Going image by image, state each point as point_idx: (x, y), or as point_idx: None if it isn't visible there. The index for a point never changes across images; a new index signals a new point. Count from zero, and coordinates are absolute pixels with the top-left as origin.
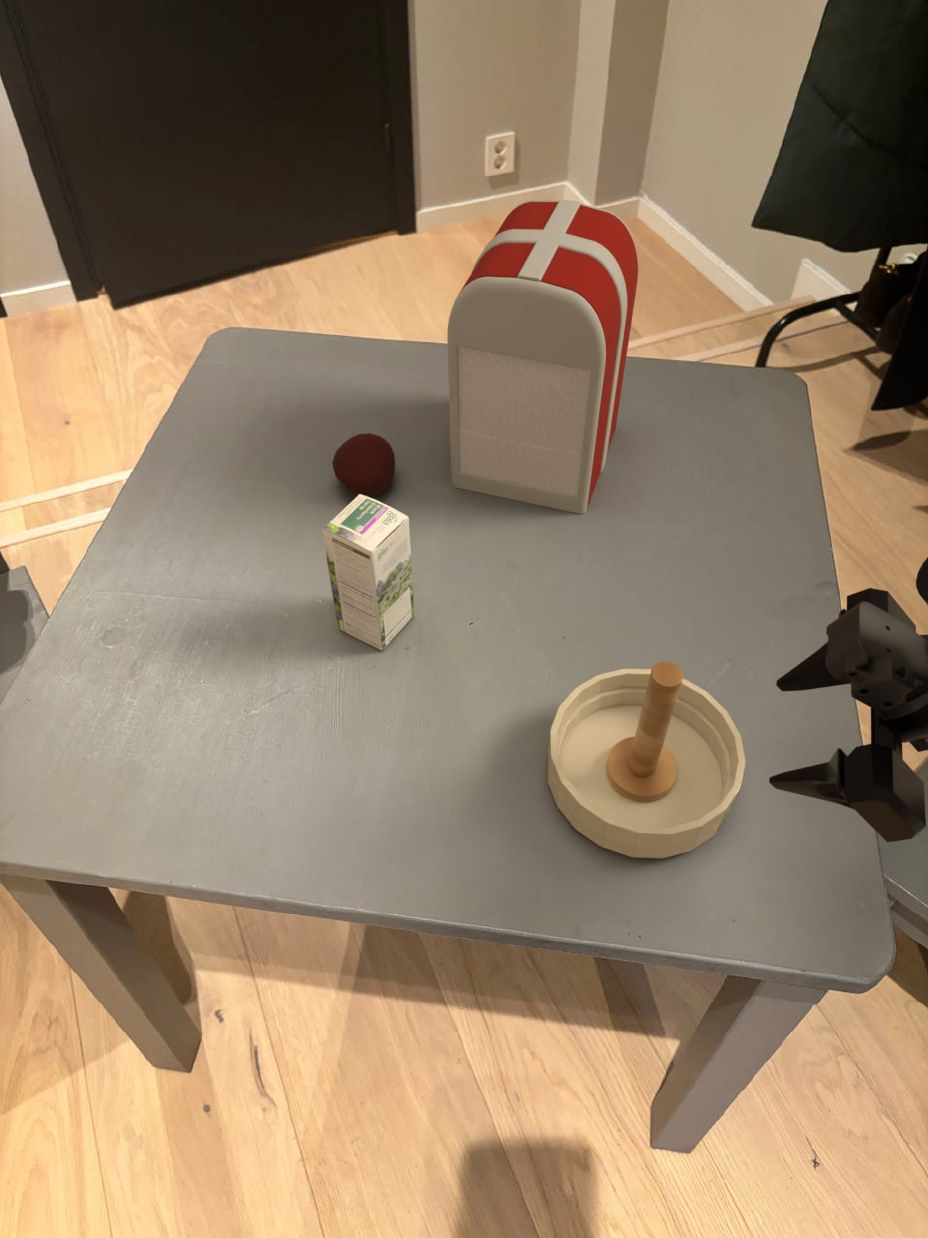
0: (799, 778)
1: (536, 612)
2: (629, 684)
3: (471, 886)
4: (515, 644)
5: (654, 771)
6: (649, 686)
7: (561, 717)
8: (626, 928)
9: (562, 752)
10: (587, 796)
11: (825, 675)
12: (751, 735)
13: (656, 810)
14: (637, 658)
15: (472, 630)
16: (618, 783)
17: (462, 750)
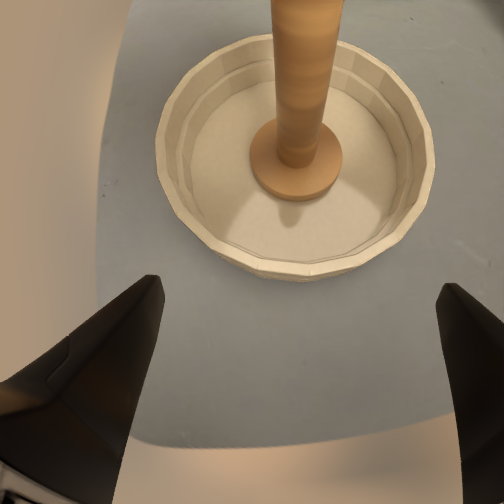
0: (83, 326)
1: (454, 62)
2: (403, 116)
3: (141, 59)
4: (411, 45)
5: (289, 166)
6: None
7: None
8: (109, 182)
9: None
10: (245, 110)
11: (479, 398)
12: (396, 302)
13: (244, 185)
14: (455, 153)
15: (405, 19)
16: (260, 129)
17: None
